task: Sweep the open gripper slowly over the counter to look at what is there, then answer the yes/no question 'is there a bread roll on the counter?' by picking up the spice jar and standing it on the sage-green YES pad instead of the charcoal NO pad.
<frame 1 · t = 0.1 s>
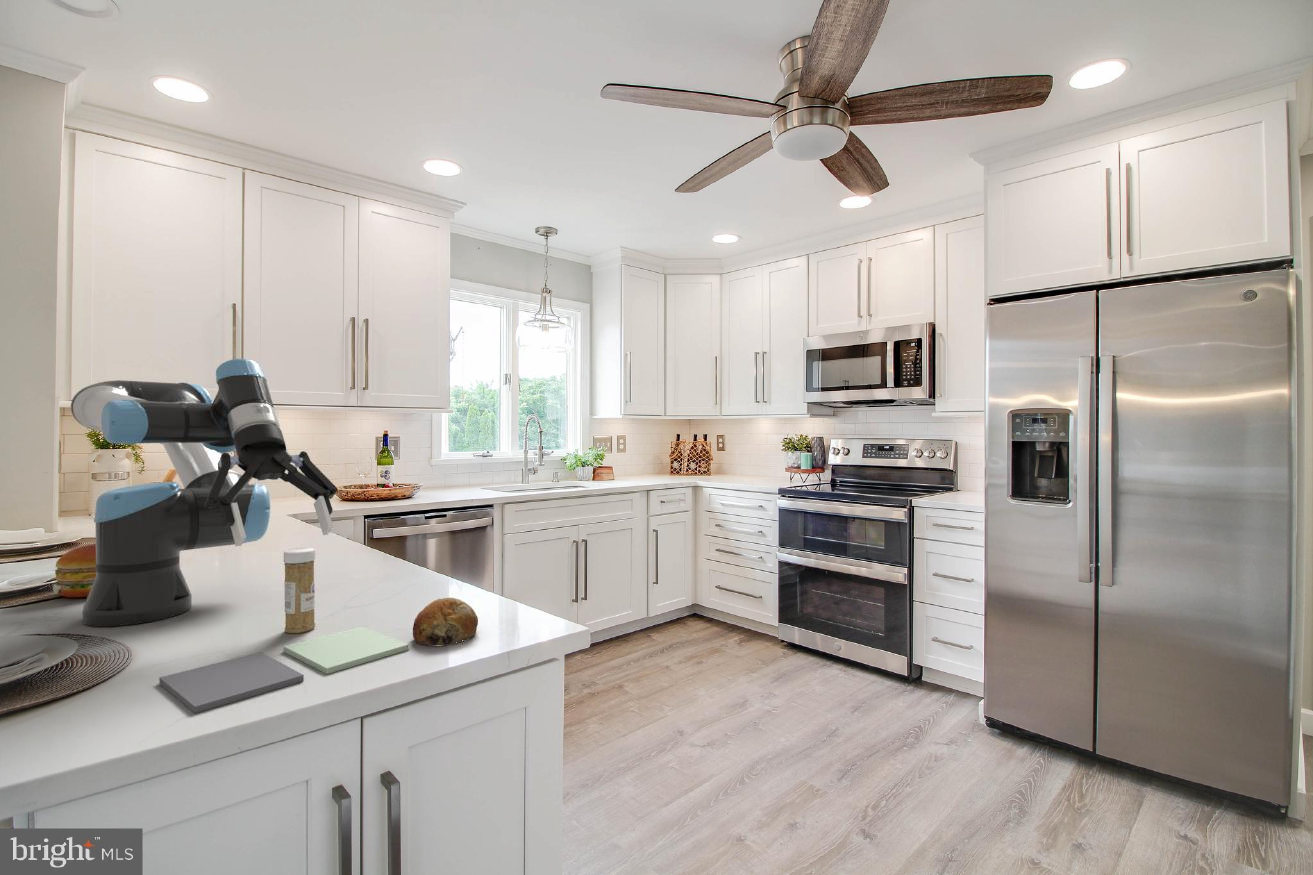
hand: (286, 536, 105), 15 cm above the worktop, tool tilted 35°, fingers open, 13 cm apart
bread roll: (445, 638, 100), on the worktop
no pad: (231, 682, 82), on the worktop
spice jar: (299, 630, 104), on the worktop
yes pad: (346, 650, 94), on the worktop
burger: (97, 593, 127), on the worktop
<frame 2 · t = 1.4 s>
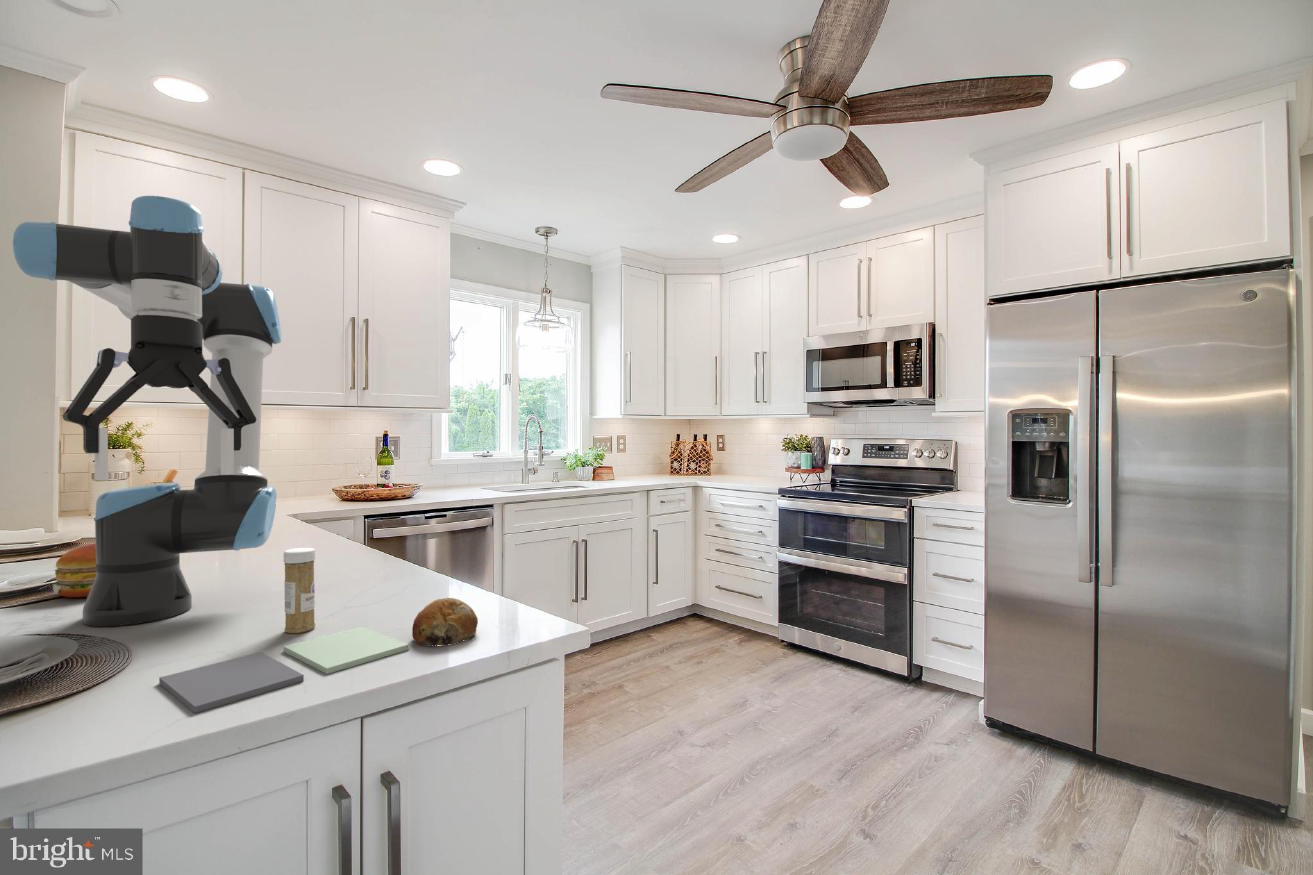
hand: (168, 477, 83), 27 cm above the worktop, tool pointing down, fingers open, 13 cm apart
nothing on the worktop moved.
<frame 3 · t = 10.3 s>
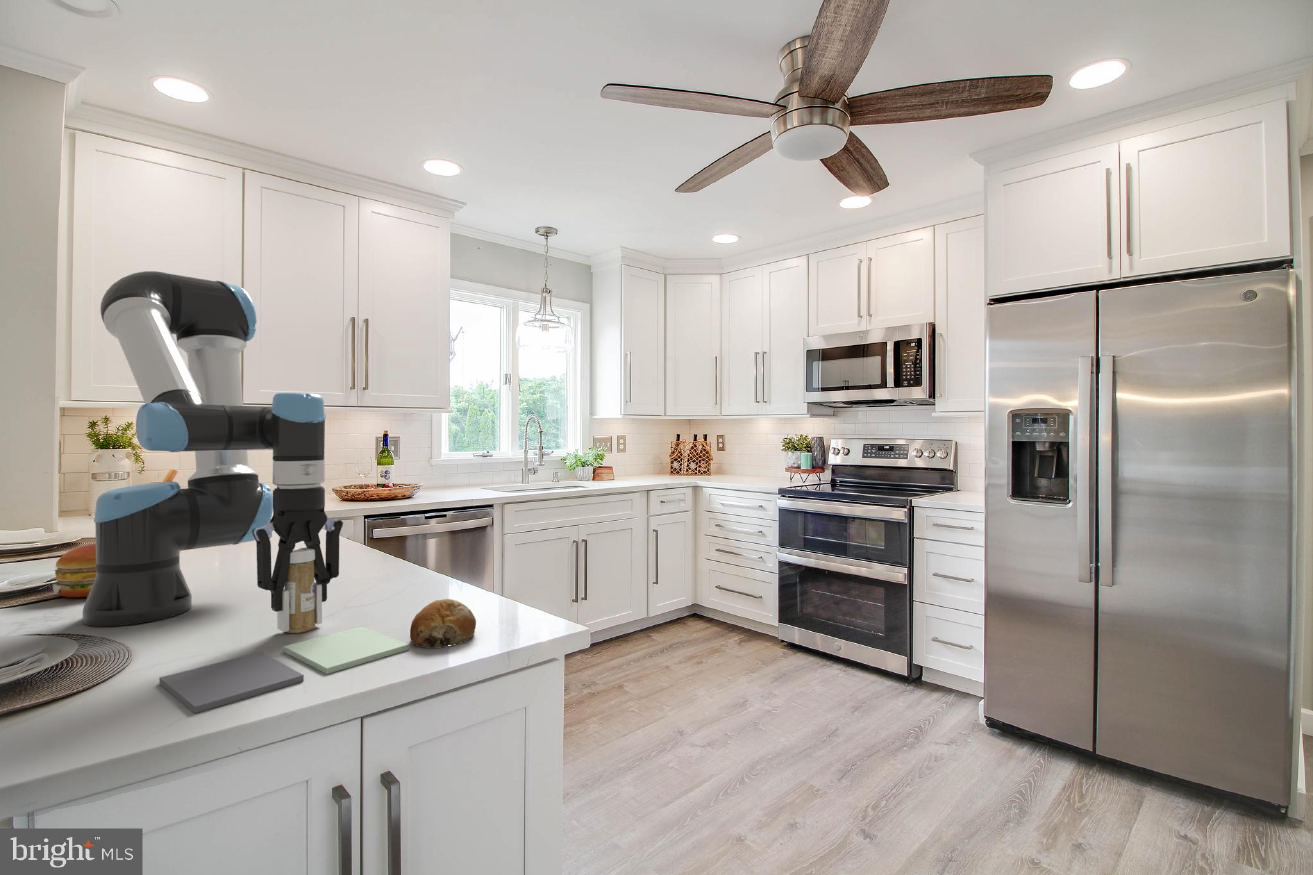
hand: (299, 625, 104), 1 cm above the worktop, tool pointing down, fingers closed on spice jar, 4 cm apart
spice jar: (299, 630, 104), on the worktop, touching gripper
everything else where it was.
when the fingers open (3 cm above the worktop, at t = 16.5 s): spice jar drops 1 cm, resting on yes pad.
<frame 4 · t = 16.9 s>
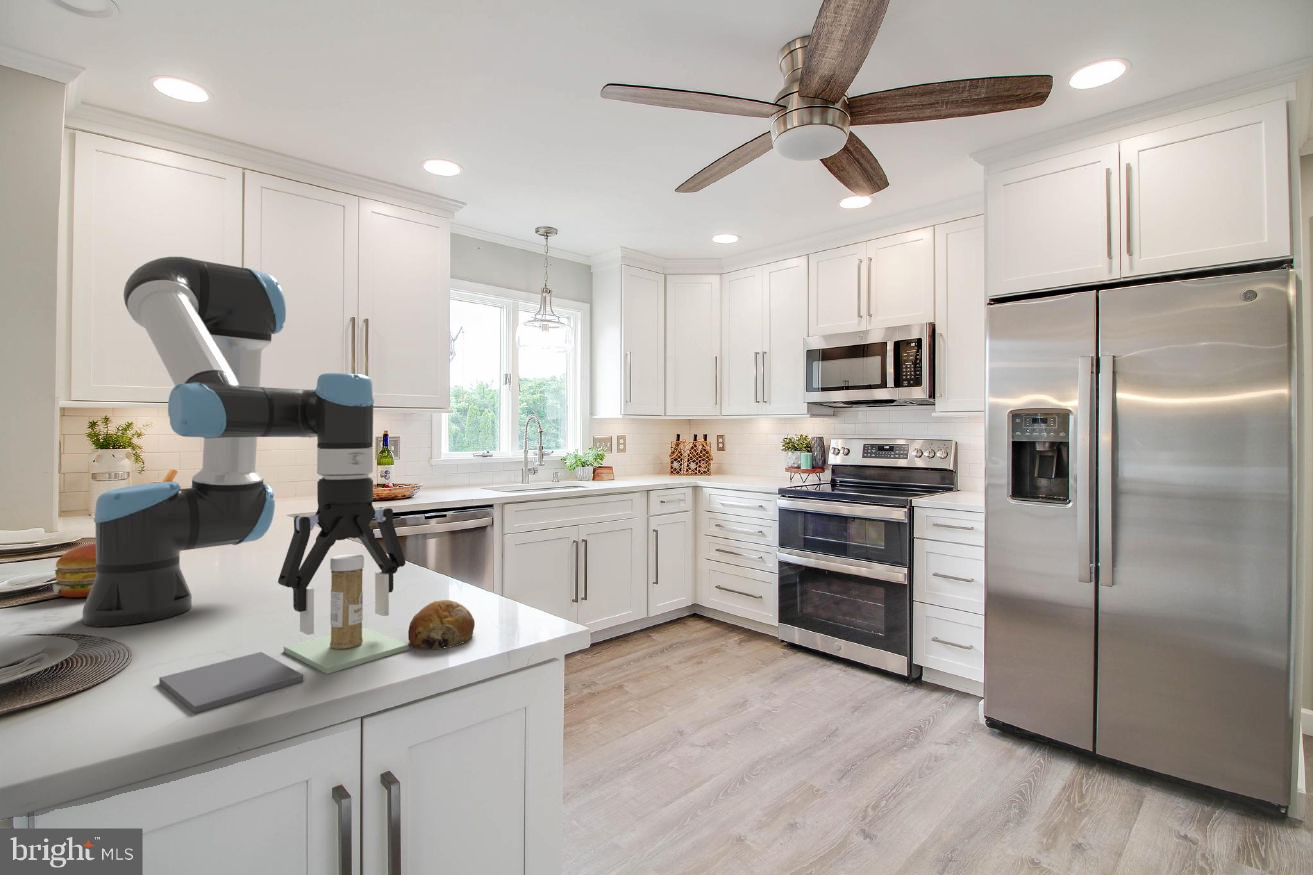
hand: (346, 622, 94), 4 cm above the worktop, tool pointing down, fingers open, 10 cm apart
spice jar: (346, 646, 94), point 1 cm above the worktop, touching yes pad
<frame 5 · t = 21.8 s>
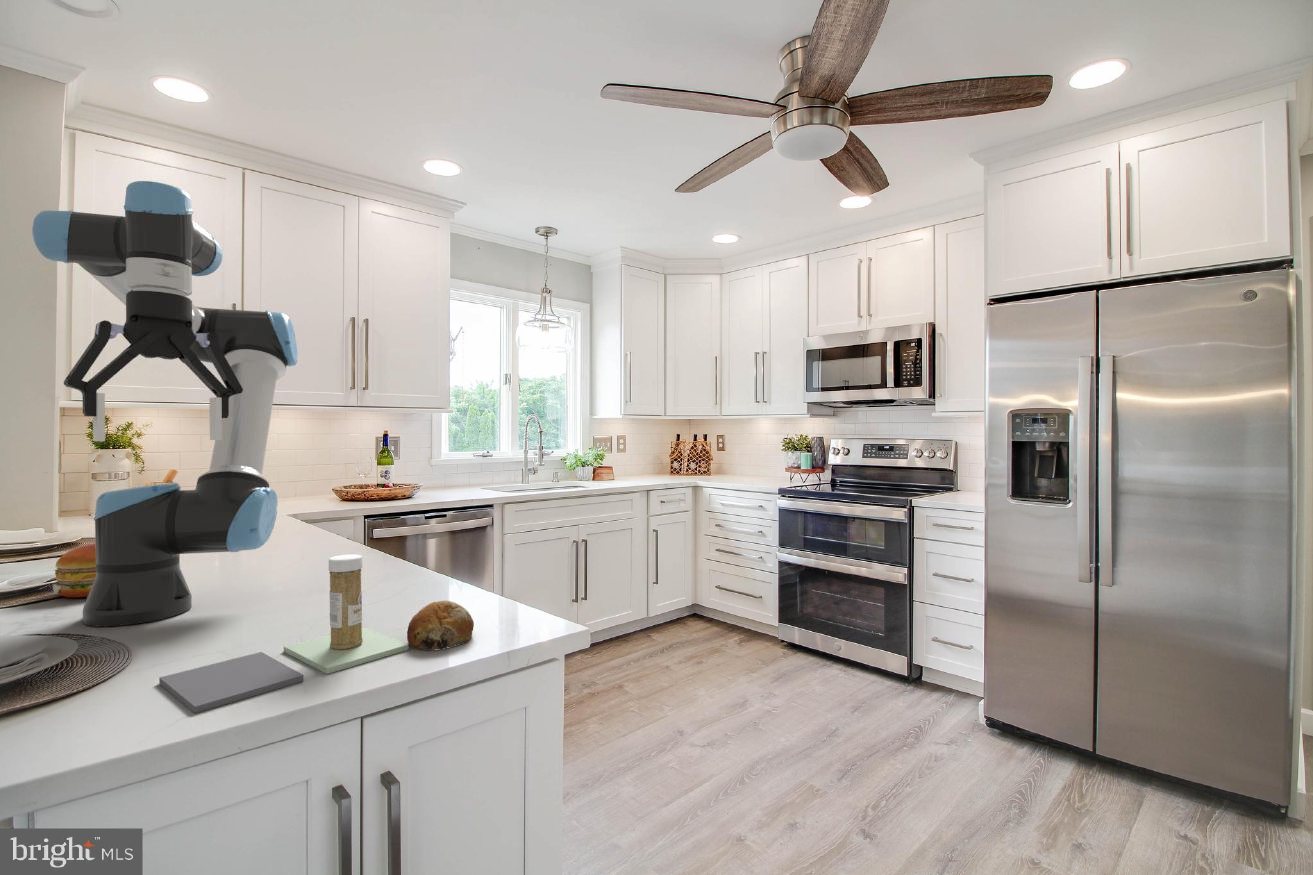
hand: (160, 440, 90), 32 cm above the worktop, tool pointing down, fingers open, 13 cm apart
at the end: spice jar 0.0 cm from the yes pad (horizontally); spice jar tilted 0°; the gripper is holding nothing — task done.
